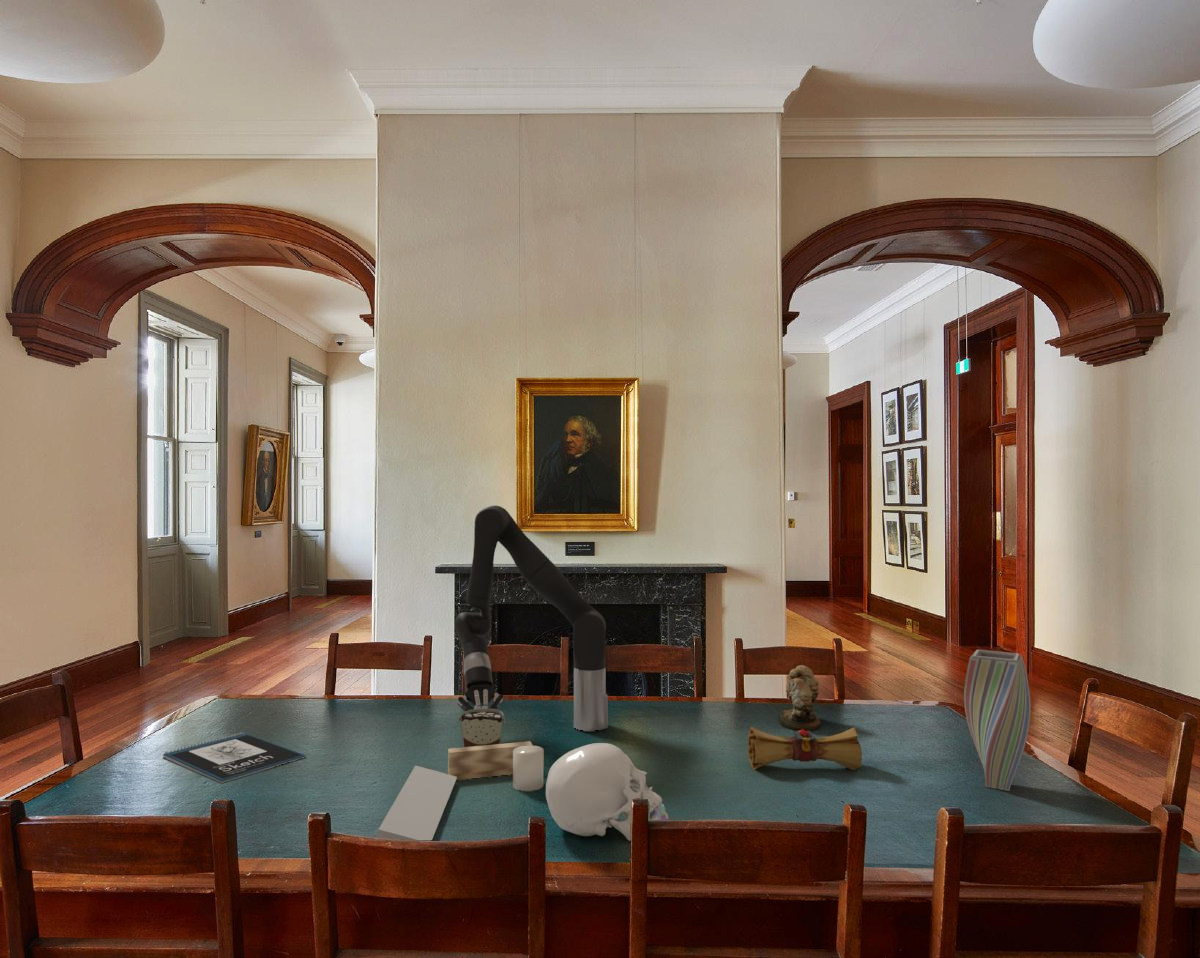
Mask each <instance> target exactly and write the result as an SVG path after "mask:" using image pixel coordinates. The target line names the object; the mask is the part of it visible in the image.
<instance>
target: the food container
mask: <svg viewBox="0 0 1200 958" xmlns="http://www.w3.org/2000/svg"><path fill="white" fill-rule="evenodd" d="M458 723H460V726H461V735H462V736H461V738H462V747H473V746H484V745H495V744H502V736H503V735H502V734H503V725H504V724H506V717H505V715H504V712H503V711H502V710H499V709H489V708H488V709H482V708H481V709H473V710H468V711H463V712H461V713H460V715H459V717H458ZM503 723H504V724H503Z"/></svg>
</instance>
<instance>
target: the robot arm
mask: <svg viewBox="0 0 1200 958" xmlns="http://www.w3.org/2000/svg"><path fill="white" fill-rule="evenodd" d="M473 528H474V534H473V535H474V541H473V554H472V563H471V568H470V569H471V570H470V575H469V580H468V585H467V591H466V595H465V596H466V597H465V602H466V603H467V605H469V606H470V607H474V608H477V609H478V610H479V612H467V611H465V612H463V611H462V612H460V613H458V614H457V616H456V618H455V621H454V630H455V633H456V635H457V637H458V638H457V639H458V640H459V642H460V645H461V648H462V650H463V651H462V652H463V675H464V685H465V691H464V695H462V696H459V697H458V698H457V706H458V707H460V708H461V709H462V710H463V712H465V711H468V710H473V709H496V710H498V708H499V706H500V705H501V704H502V702H503V699H504V694H503V693H498V692H496V688H494V683H493V676H492V675H493V674H492V665H491V660H490V655H489V646H488V643H487V641H486V639H484V638H486V637H487V636H488V635H489V633H490V632H491V629H492V622H491V621H492V619H491V613H490V612H491V610H490V605H491V604H490V603H491V601H490V600H491V595H492V590H493V584H494V574H495V573H494V571H495V570H494V566H495V565H494V560H495V559H494V558H495V553H496V548H497V544H498V543H499V544H501V546H503V548H504V549H505V550H506V551H507V552H508V554H509V555H510V557H511V559H512V560H513V562H514V565H515V566H516V568H517V570H518V571H519V573H520V575H521V576H522V577H523V579H524V580H525V581H526V582H527V584H529V587H531V588H532V589H533V590H534V591H535V592H536V593H537V594H538V595H539V596H541V597H542V598H543V599H544V600H545V601H547V602H548V603H550V604H552V606H554V607H555V608H556V609H558V610H559V611H560V612H561V613H562V614H563V616H564V617H565V618H566V619H567V621H568V622H569V623H570V625H572V628H573V629H572V630H573V632H572V644H573V645H572V647H573V648H572V650H573V651H572V655H573V656H572V657H573V728H574V729H575V728H576V730H577V729H578V730H577V731H580V730H583V731H582V732H596V731H595V730H599V731H602V730H605V729H608V728H609V727H608V723H609V722H608V721H609V720H608V718H609V716H608V715H609V713H608V712H609V711H608V710H609V709H608V707H609V706H608V697H609V696H608V694H607V692H606V678H607V676H606V674H607V673H606V667H607V666H606V629H607V624H606V621H605V618H604V616H603V615H602V614H601V613H600V612H599V611H597V610H596V609H595V608H594V607H593V606H592V605H591V604H589V602H587V601H586V600H585V599H584V598H583V597H582V596H581V595H580V594H579V593H578V592H577V590H575V588H574V587H573V586H572V584H571V583H570V582H569V580H568V579H567V578H566V576H564V574H563V573H562V572H561V571H560V569H559V568H558V567H557V566H556V565H555V564H554V563H553V561H551V560H550V558H549V557H547V555H546V554H545V553H544V552H543V551H542V550H541V548H539V547H538V546H537V545H536V544H535V543H534V542H533V541H532V540H531V539H530V538H529V537H528V536H527V535H526V534H525V533H524V532H523V531H522V529H521V528H520V526H519V525H518V524H517V522H516V521H515V519H514V518H513V517H512V516H511V515H510V513H509V512H508V510H506V509H505V508H504V507H503V506H500V505H489V506H488V507H487V506H486V507H483V508H482V509H481V510H479V512H477V514H476V516H475V518H474V527H473ZM492 700H493V703H492V704H491V702H492ZM469 703H470V704H469ZM489 704H491V706H490V707H489Z"/></svg>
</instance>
